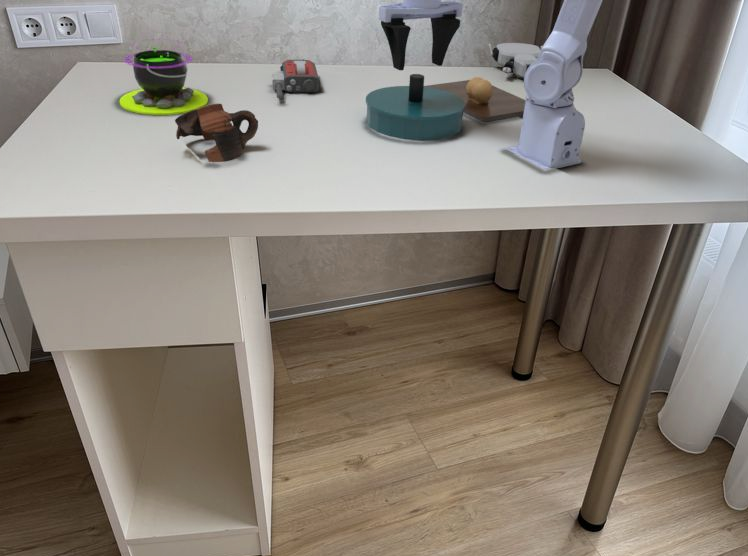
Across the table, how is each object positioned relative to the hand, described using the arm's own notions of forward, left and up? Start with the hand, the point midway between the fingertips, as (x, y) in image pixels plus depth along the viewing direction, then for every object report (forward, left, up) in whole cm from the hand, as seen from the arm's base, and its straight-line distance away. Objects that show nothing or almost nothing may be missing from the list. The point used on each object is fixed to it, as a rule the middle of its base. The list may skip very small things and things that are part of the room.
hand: (418, 66), depth 114 cm
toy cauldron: (+29, +34, -10) cm, 46 cm away
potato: (+4, -17, -9) cm, 20 cm away
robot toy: (+20, -41, -10) cm, 47 cm away
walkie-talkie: (+27, +9, -10) cm, 30 cm away
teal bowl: (0, 0, -10) cm, 10 cm away
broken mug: (+2, +34, -10) cm, 36 cm away
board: (+6, -19, -10) cm, 22 cm away
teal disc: (0, 0, -6) cm, 6 cm away
